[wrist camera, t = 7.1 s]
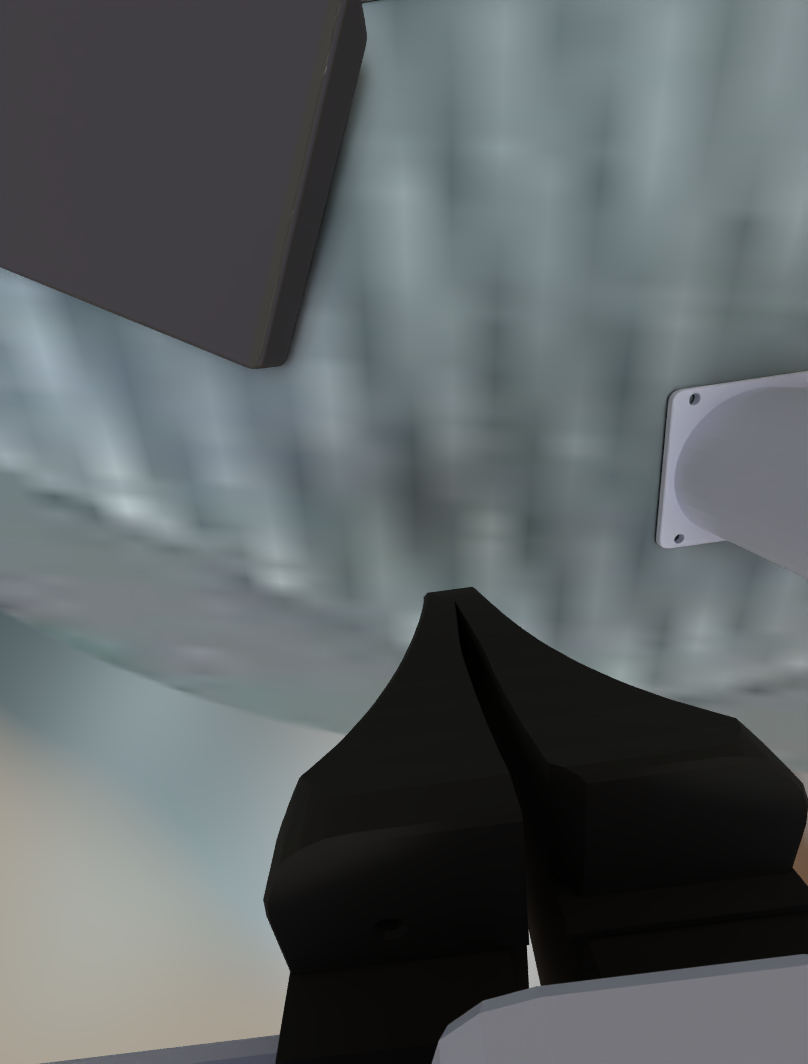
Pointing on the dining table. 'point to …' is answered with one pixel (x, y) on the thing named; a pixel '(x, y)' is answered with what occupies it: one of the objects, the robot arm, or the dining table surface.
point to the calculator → (175, 157)
